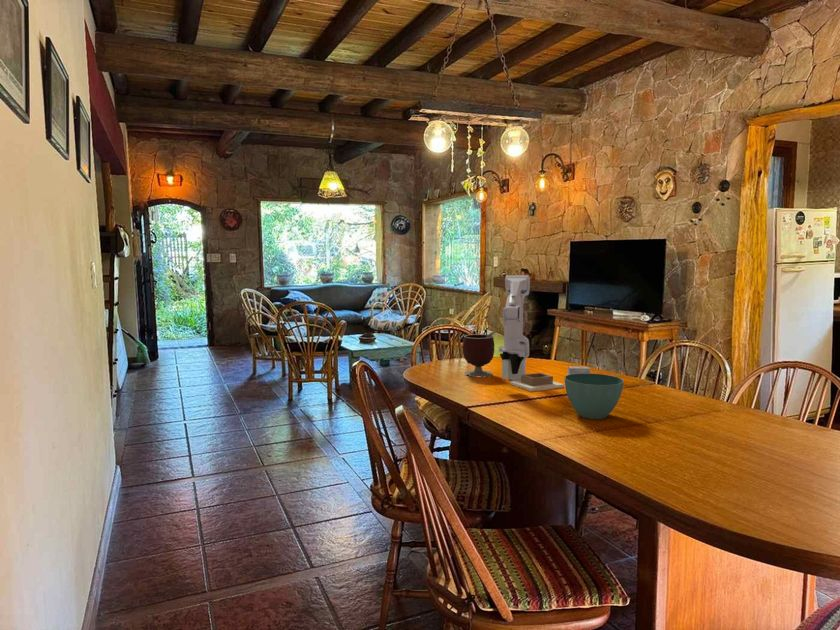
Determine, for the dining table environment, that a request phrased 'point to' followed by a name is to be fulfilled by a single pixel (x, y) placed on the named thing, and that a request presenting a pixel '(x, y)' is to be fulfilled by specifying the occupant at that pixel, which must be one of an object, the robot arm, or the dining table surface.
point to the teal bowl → (593, 393)
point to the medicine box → (578, 370)
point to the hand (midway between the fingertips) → (511, 372)
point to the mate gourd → (478, 352)
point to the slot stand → (536, 382)
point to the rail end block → (509, 370)
